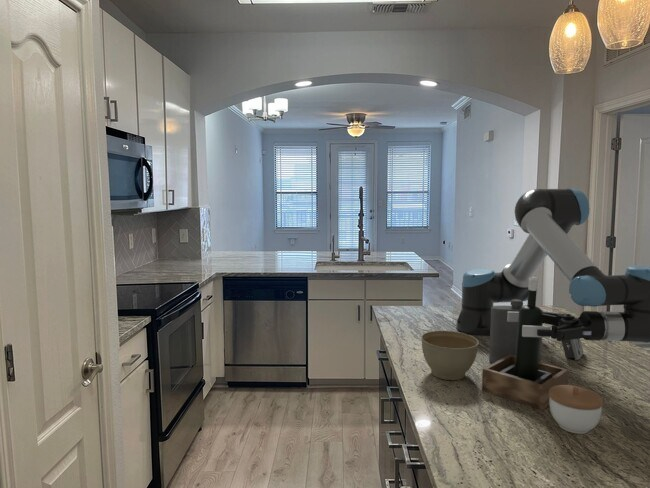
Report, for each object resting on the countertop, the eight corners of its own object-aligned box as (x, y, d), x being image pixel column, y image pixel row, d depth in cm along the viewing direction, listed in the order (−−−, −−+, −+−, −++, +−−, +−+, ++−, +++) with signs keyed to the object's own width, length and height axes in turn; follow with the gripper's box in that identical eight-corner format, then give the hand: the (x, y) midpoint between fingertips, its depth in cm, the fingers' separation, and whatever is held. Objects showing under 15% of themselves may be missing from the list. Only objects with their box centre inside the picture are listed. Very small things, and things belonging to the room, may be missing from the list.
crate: (481, 390, 123) (482, 368, 123) (508, 374, 134) (509, 354, 134) (542, 410, 112) (544, 386, 111) (567, 391, 123) (568, 369, 122)
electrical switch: (578, 361, 144) (577, 332, 144) (560, 359, 148) (558, 331, 147) (583, 353, 152) (582, 326, 151) (566, 351, 155) (565, 324, 154)
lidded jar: (538, 416, 109) (540, 378, 108) (580, 414, 110) (583, 377, 109) (565, 440, 98) (567, 399, 97) (612, 438, 99) (615, 397, 98)
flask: (538, 361, 144) (541, 299, 142) (542, 368, 139) (545, 304, 136) (488, 357, 148) (490, 297, 146) (489, 364, 142) (492, 301, 140)
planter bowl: (437, 389, 124) (438, 350, 123) (411, 367, 140) (411, 332, 138) (489, 382, 128) (490, 345, 127) (457, 362, 144) (458, 328, 143)
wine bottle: (512, 388, 122) (520, 277, 118) (514, 380, 127) (522, 274, 123) (535, 393, 119) (545, 280, 115) (536, 385, 124) (546, 276, 120)
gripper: (623, 356, 107) (529, 353, 109) (578, 326, 131) (501, 323, 134) (626, 325, 106) (530, 322, 109) (580, 300, 131) (503, 298, 133)
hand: (514, 323), depth 121 cm, fingers open, 13 cm apart
